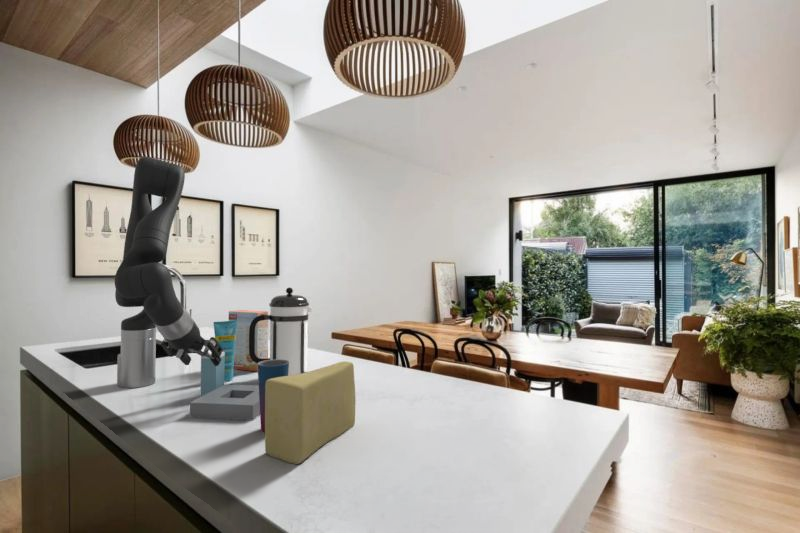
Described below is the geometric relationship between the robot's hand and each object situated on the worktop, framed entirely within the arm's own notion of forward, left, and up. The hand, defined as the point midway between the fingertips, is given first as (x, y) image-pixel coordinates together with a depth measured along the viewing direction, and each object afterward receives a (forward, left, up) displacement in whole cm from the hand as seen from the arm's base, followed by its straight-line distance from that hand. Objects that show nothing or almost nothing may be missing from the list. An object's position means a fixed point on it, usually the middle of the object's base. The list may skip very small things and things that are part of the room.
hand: (203, 362), depth 113 cm
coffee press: (+13, +26, -11) cm, 31 cm away
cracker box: (-5, +37, -11) cm, 39 cm away
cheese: (+39, -22, -11) cm, 46 cm away
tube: (-5, +21, -11) cm, 24 cm away
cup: (+27, -17, -11) cm, 34 cm away
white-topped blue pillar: (0, +5, -10) cm, 11 cm away
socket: (+12, -4, -10) cm, 16 cm away
